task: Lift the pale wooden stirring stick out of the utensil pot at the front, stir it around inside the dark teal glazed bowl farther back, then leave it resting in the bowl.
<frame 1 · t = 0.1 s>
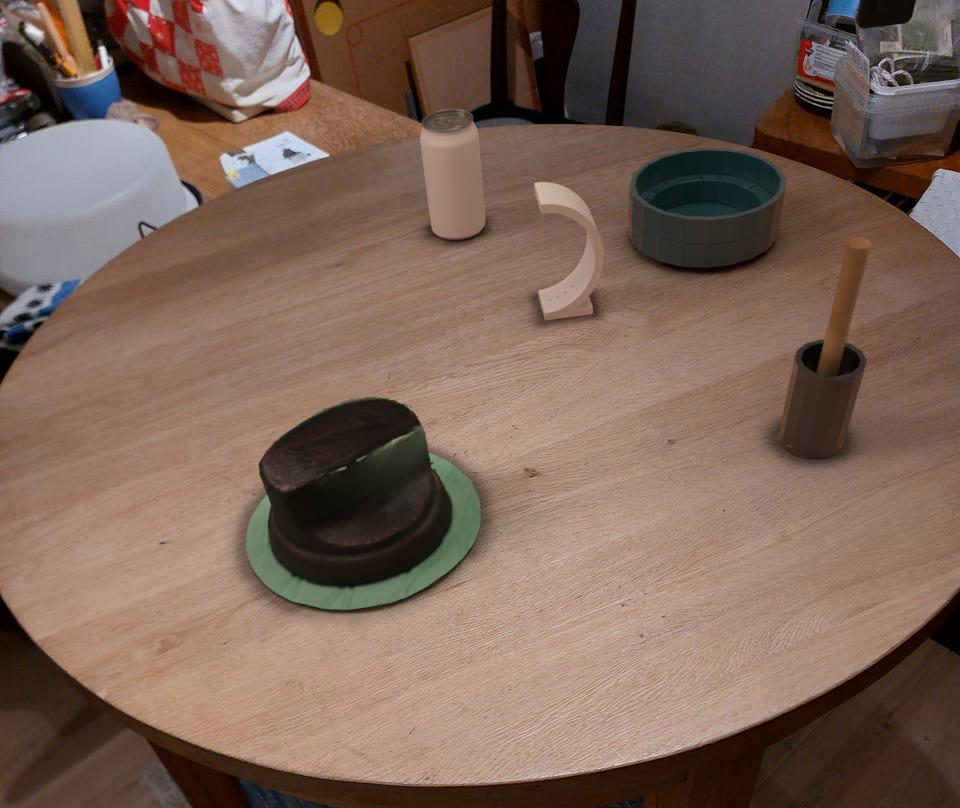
bowl: (701, 236, 101), on the table
dark brown green hat: (364, 524, 77), on the table
utensil pot: (810, 438, 78), on the table
stick: (812, 433, 78), point 1 cm above the table, touching utensil pot
can: (459, 229, 107), on the table
headphone stand: (570, 306, 95), on the table
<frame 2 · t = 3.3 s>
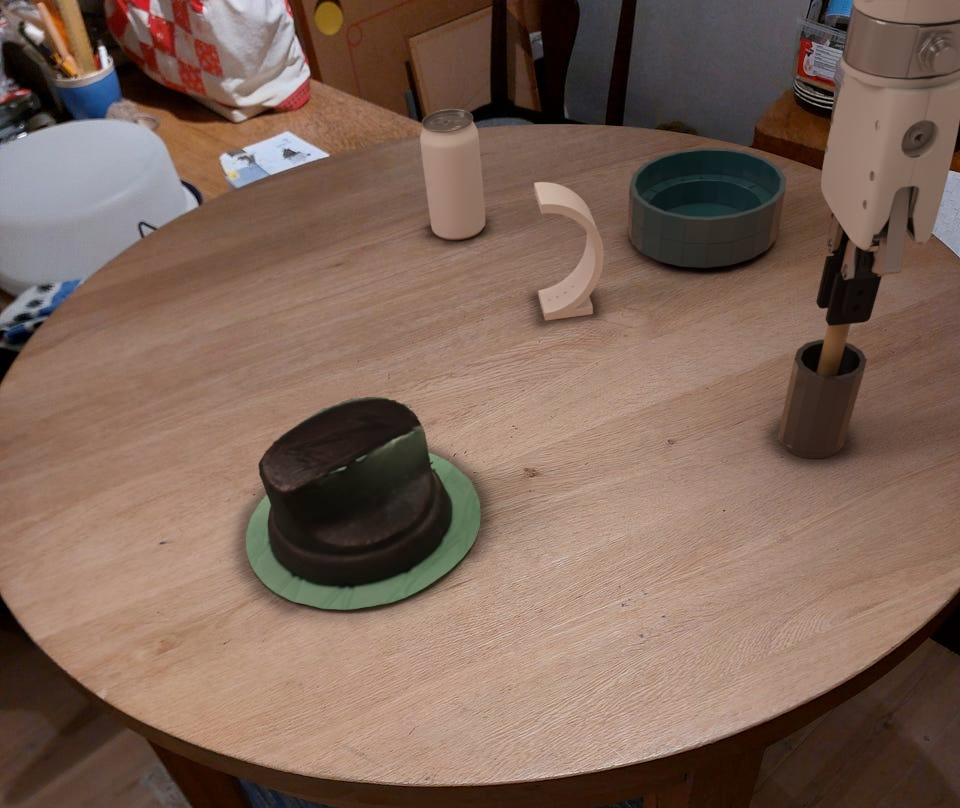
hand: (842, 311, 69), 12 cm above the table, tool pointing down, fingers closed on stick
stick: (812, 433, 78), point 1 cm above the table, touching gripper, utensil pot
everything else where it was.
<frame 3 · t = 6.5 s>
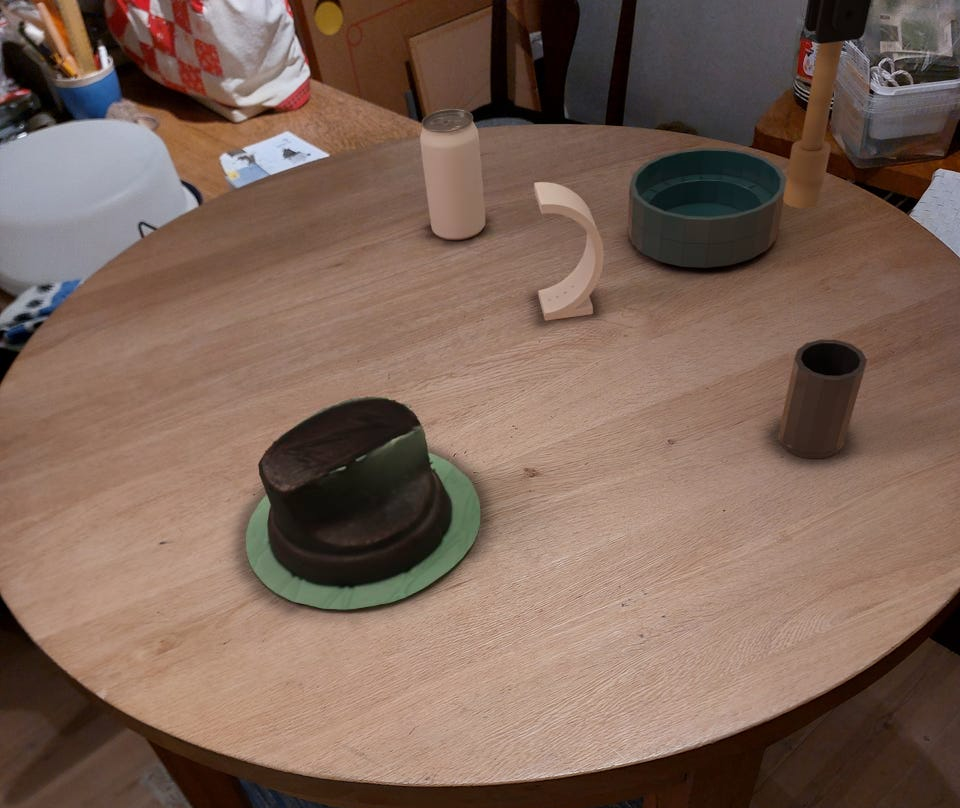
hand: (833, 31, 62), 28 cm above the table, tool pointing down, fingers closed on stick
stick: (801, 199, 71), point 17 cm above the table, touching gripper
everything else where it was.
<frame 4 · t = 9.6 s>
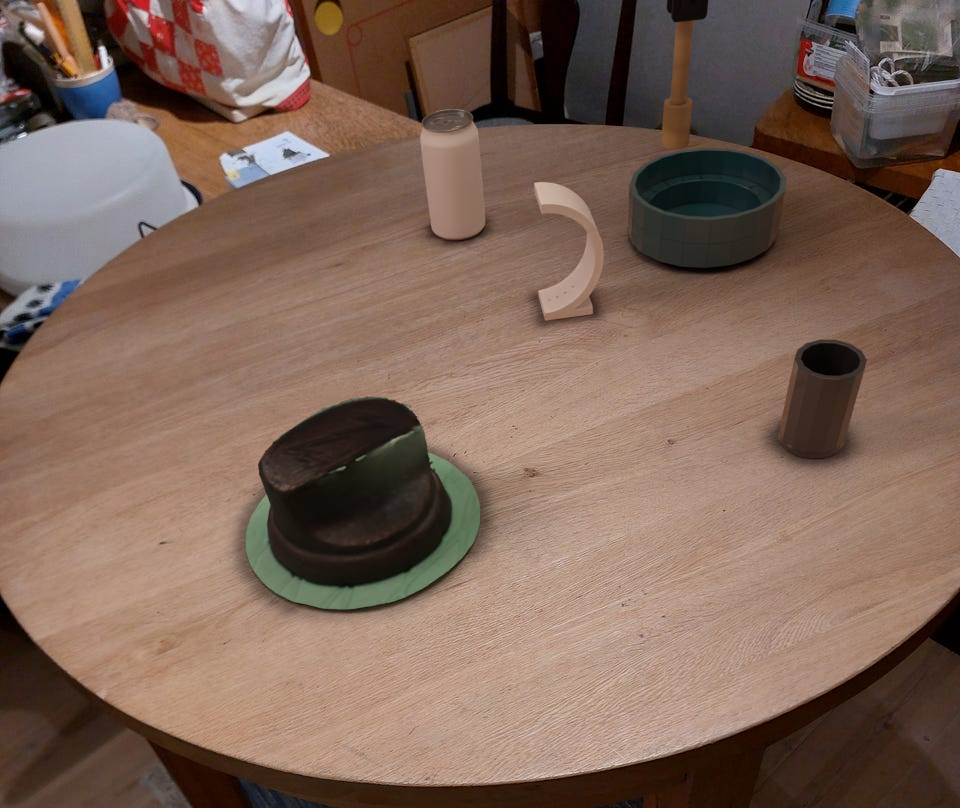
hand: (686, 13, 84), 22 cm above the table, tool pointing down, fingers closed on stick
stick: (674, 143, 93), point 10 cm above the table, touching gripper
everything else where it was.
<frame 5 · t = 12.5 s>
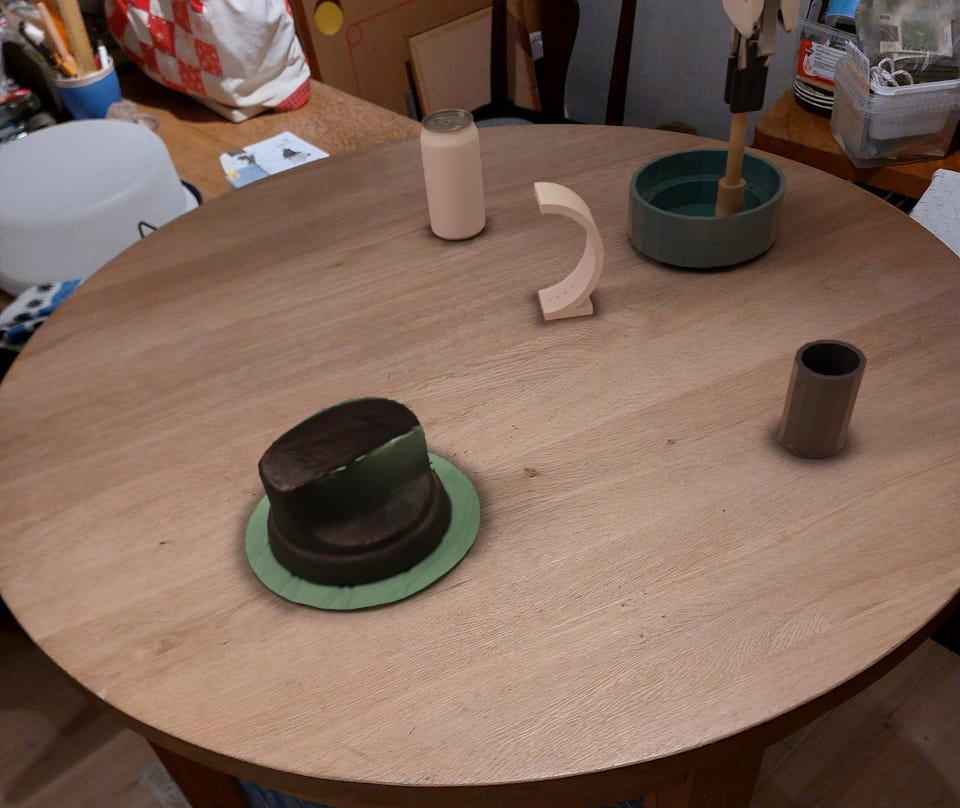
hand: (742, 104, 90), 13 cm above the table, tool pointing down, fingers closed on stick
stick: (727, 219, 99), point 2 cm above the table, touching gripper
everything else where it was.
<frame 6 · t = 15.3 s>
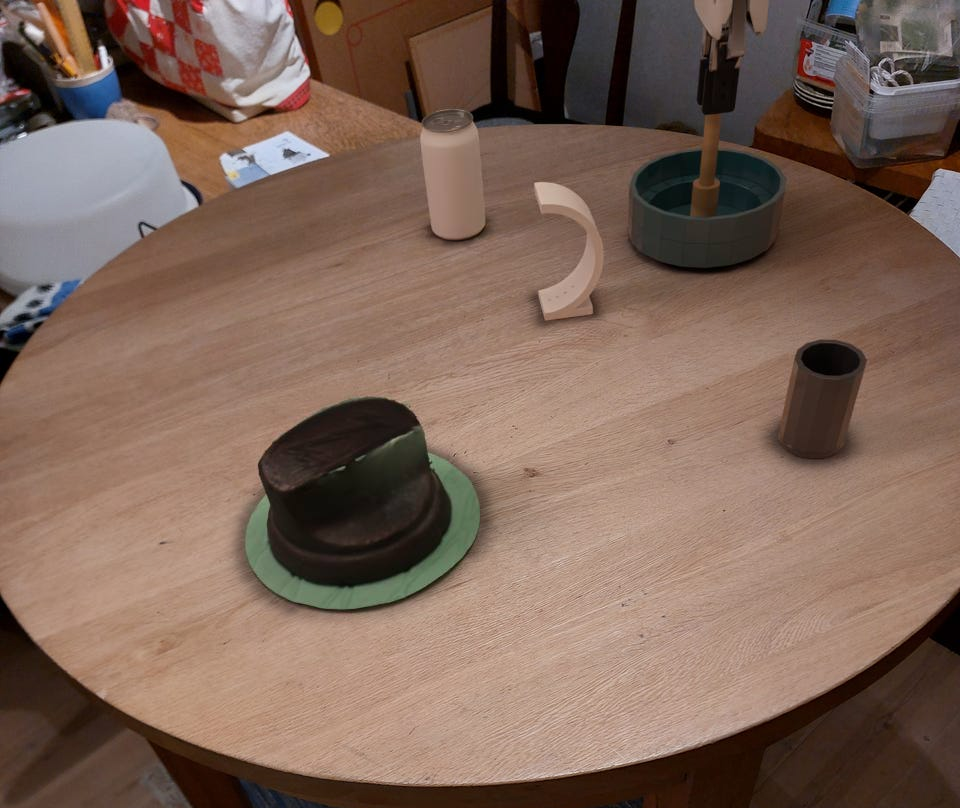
hand: (715, 106, 90), 13 cm above the table, tool pointing down, fingers closed on stick
stick: (702, 219, 99), point 2 cm above the table, touching gripper
everything else where it was.
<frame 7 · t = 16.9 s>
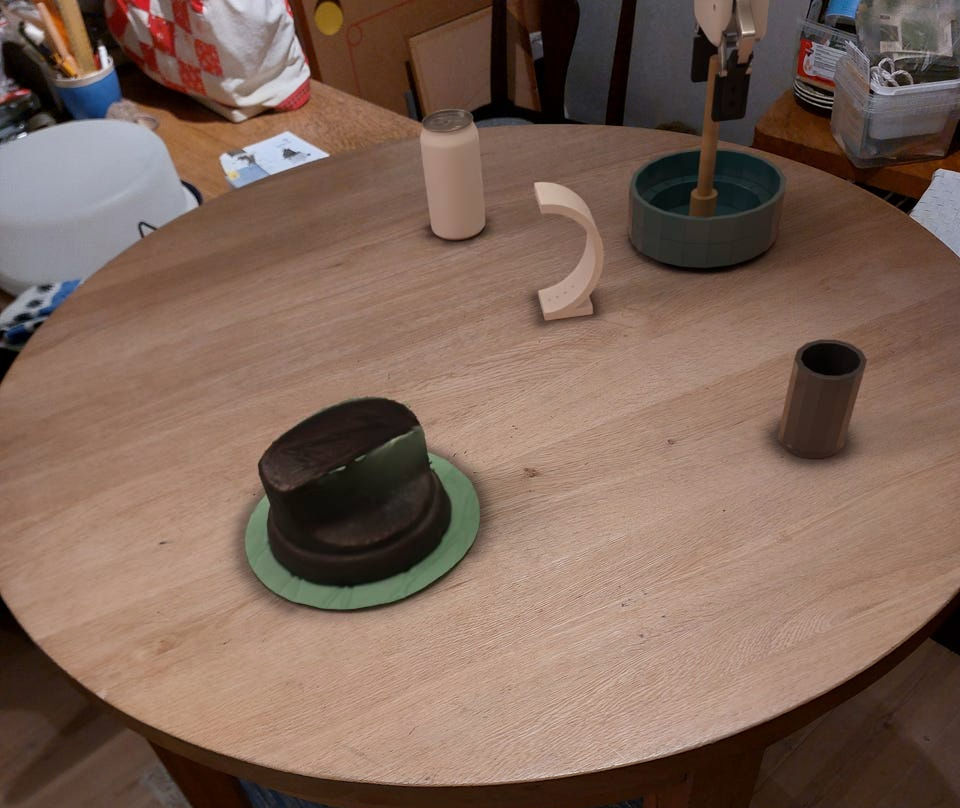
hand: (716, 99, 90), 14 cm above the table, tool pointing down, fingers open, 9 cm apart
stick: (700, 229, 100), point 1 cm above the table, touching bowl
everything else where it was.
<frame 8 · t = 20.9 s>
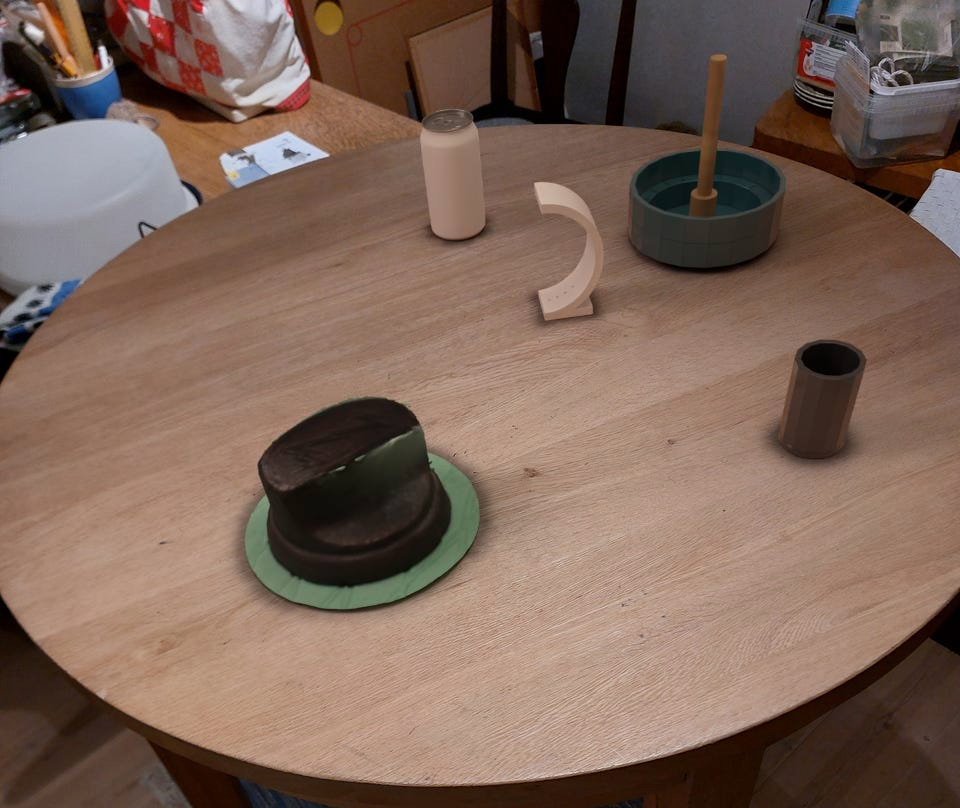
nothing on the table moved.
at the end: stick inside the target area in the bowl (0.2 cm from its centre), point 0.8 cm above the bowl's base; the gripper is holding nothing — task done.
